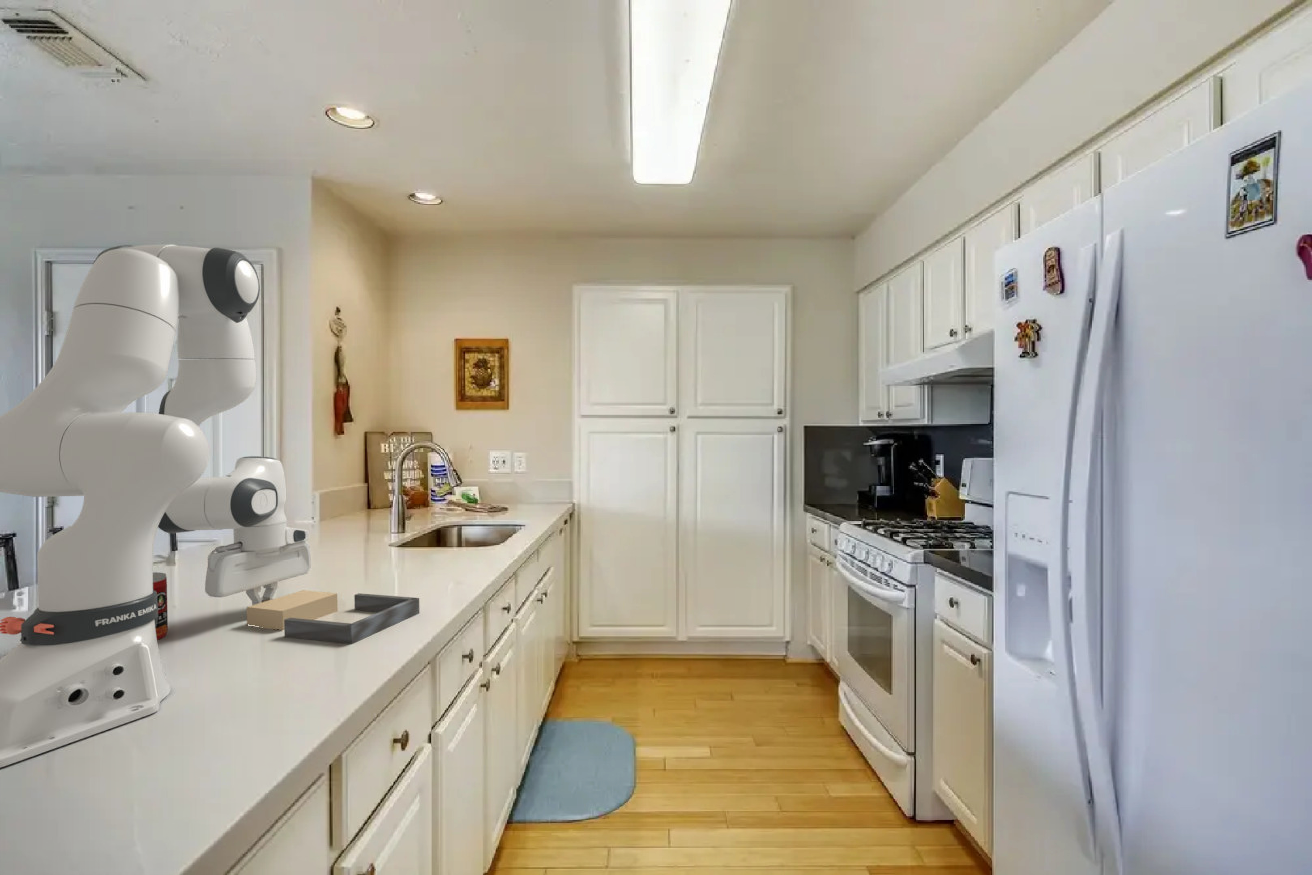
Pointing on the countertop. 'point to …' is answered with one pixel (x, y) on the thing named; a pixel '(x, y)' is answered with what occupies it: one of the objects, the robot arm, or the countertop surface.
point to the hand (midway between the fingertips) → (262, 607)
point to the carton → (292, 608)
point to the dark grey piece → (388, 615)
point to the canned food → (161, 603)
